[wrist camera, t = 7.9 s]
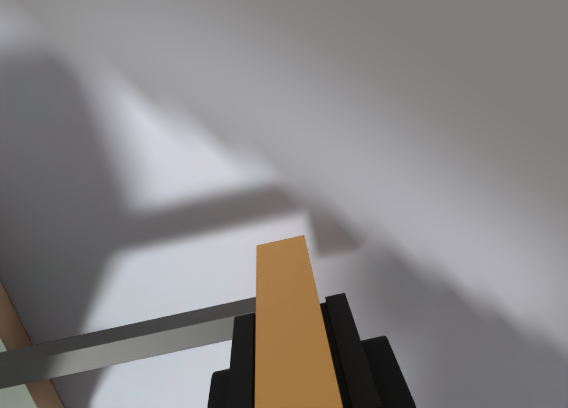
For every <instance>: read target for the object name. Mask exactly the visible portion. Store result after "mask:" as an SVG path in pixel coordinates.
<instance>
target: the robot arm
mask: <svg viewBox="0 0 568 408" xmlns="http://www.w3.org/2000/svg"><path fill="white" fill-rule="evenodd" d="M325 299H326V303H321V304H320V308H321V313H322V317H323V322H324V326H325V330H326V335H327V339H328V344H329V348H330V353H331V357H332V362H333V366H334V370H335V375H336V379H337V384H338V388H339V393H340V397H341V402H342V406H343V408H416V405H415V403H414V401H413V398H412V396H411V393H410V391H409V389H408V386H407V384H406V382H405V379H404V377H403V375H402V372H401V370H400V367H399V365H398V363H397V360H396V358H395V356H394V353H393V351H392V348H391V346H390V344H389V341H388V339H387V337H386V336H380V337H376V338H371V339H366V340H362V341H361V340H360V337H359V334H358V331H357V328H356V325H355V322H354V319H353V316H352V313H351V310H350V307H349V304H348V301H347V298H346V295H345V293H342V294H337V295H332V296H328V297H325ZM255 349H256V314H255V313H249V314H245V315H240V316H236V317H234V326H233V337H232V348H231V359H230V369H226V370H221V371H216V372H214V373H213V374H212V378H211V385H210V392H209V400H208V407H207V408H255Z"/></svg>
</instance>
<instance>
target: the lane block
mask: <svg viewBox="0 0 568 408" xmlns="http://www.w3.org/2000/svg"><path fill="white" fill-rule="evenodd" d="M249 313H255V314H256V349H255V408H343V406H342V402H341V397H340V393H339V388H338V384H337V379H336V375H335V370H334V366H333V362H332V357H331V353H330V348H329V344H328V339H327V335H326V330H325V326H324V322H323V317H322V313H321V308H320V304H319V299H318V295H317V290H316V286H315V282H314V277H313V273H312V268H311V264H310V259H309V255H308V250H307V246H306V242H305V237H304V235H303V236H298V237H294V238H289V239H284V240H280V241H275V242H271V243H266V244H262V245H257V265H256V297H254V298H249V299H245V300H240V301H235V302H231V303H226V304H221V305H217V306H212V307H208V308H203V309H198V310H194V311H189V312H185V313H180V314H175V315H171V316H166V317H161V318H157V319H152V320H148V321H143V322H138V323H134V324H129V325H124V326H120V327H115V328H111V329H106V330H101V331H97V332H92V333H88V334H83V335H78V336H74V337H69V338H64V339H60V340H55V341H51V342H46V343H41V344H37V345H32V346H27V347H23V348H18V349H14V350H9V351H7V350H6V348H5V346H4V344H3V342H2V341H1V339H0V408H37V406H36V405H35V403H34V401H33V399H32V397H31V395H30V393H29V391H28V389H27V388H26V386H25V384H27V383H31V382H36V381H41V380H45V379H50V378H55V377H60V376H64V375H69V374H74V373H78V372H83V371H88V370H92V369H97V368H102V367H106V366H111V365H116V364H120V363H125V362H130V361H134V360H139V359H144V358H148V357H153V356H158V355H162V354H167V353H172V352H176V351H181V350H186V349H190V348H195V347H200V346H204V345H209V344H214V343H218V342H223V341H228V340H232V337H233V326H234V317H236V316H240V315H245V314H249Z"/></svg>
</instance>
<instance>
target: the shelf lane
mask: <svg viewBox="0 0 568 408" xmlns="http://www.w3.org/2000/svg"><path fill="white" fill-rule="evenodd" d="M0 339H1V341H2V342H3V344H4V346H5V348H6V350H7V351H9V350H14V349H18V348H23V347H27V346H32V343H31V341H30V339H29V337H28V335H27V333H26V331H25V329H24V327H23V325H22V323H21V321H20V319H19V317H18V315H17V313H16V311H15V309H14V307H13V305H12V303H11V301H10V299H9V297H8V295H7V293H6V291H5V289H4V288H3V286H2V284H1V282H0ZM25 386H26V388H27V389H28V391H29V393H30V395H31V397H32V399H33V401H34V403H35V405H36V406H37V408H64V407H63V405H62V403H61V401H60V399H59V397H58V395H57V393H56V391H55V389H54V387H53V385H52V383H51V381H50V379H45V380H41V381H36V382H31V383H27V384H25Z"/></svg>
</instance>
